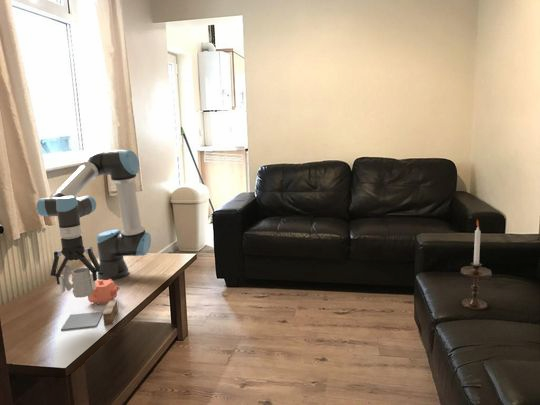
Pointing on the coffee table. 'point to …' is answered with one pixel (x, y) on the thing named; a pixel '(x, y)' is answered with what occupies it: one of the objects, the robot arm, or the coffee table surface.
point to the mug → (78, 281)
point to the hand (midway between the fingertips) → (78, 290)
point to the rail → (110, 313)
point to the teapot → (103, 292)
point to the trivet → (82, 321)
